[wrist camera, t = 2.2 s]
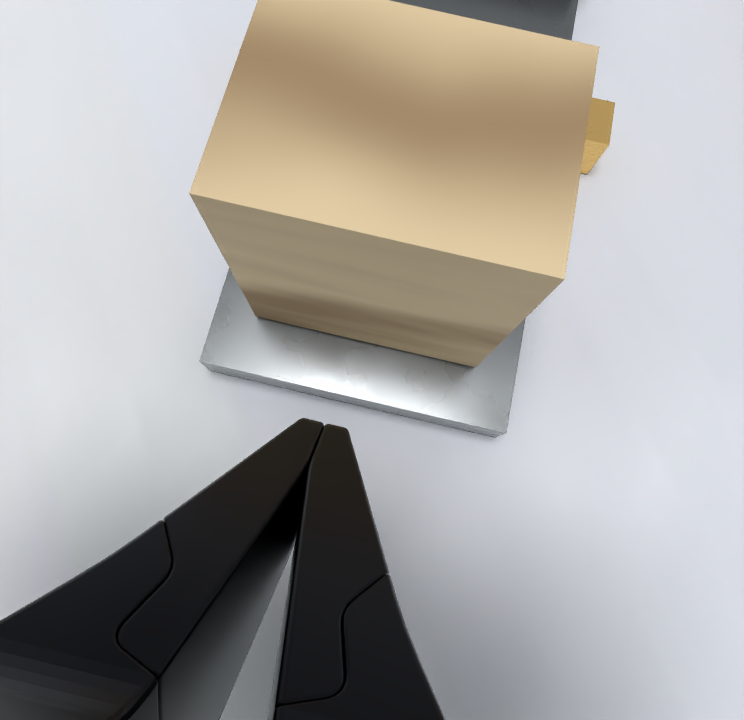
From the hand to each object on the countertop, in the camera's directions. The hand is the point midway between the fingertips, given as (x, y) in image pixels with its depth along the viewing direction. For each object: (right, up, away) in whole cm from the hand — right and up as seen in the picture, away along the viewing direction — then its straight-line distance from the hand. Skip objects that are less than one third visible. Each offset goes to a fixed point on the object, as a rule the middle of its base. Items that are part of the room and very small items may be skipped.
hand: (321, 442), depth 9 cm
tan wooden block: (+1, +5, +10) cm, 11 cm away
